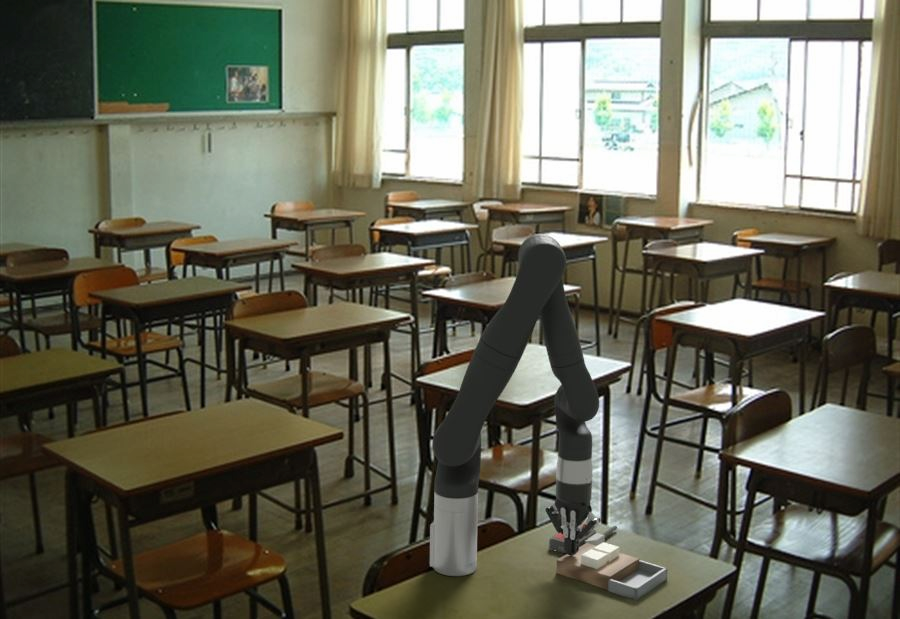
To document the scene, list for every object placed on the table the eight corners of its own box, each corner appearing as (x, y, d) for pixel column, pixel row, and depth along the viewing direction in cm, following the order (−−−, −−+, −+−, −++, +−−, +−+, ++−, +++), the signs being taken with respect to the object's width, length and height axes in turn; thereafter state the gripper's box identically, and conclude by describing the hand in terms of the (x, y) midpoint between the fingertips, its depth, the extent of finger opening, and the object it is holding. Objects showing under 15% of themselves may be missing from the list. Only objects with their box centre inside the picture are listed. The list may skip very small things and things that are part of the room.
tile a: (580, 563, 238) (581, 554, 238) (590, 558, 241) (591, 549, 241) (597, 569, 236) (597, 560, 236) (607, 563, 239) (607, 554, 239)
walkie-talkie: (579, 561, 248) (620, 533, 264) (579, 542, 247) (620, 515, 263) (544, 552, 253) (586, 525, 269) (544, 533, 252) (587, 507, 268)
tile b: (593, 556, 242) (593, 547, 242) (603, 550, 245) (603, 542, 245) (609, 561, 240) (609, 552, 239) (619, 555, 243) (619, 547, 242)
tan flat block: (556, 573, 241) (556, 559, 240) (586, 555, 250) (586, 542, 249) (609, 590, 233) (610, 576, 232) (638, 571, 242) (639, 558, 242)
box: (608, 591, 232) (608, 579, 232) (639, 571, 242) (640, 560, 242) (636, 600, 229) (636, 588, 228) (666, 579, 238) (667, 568, 238)
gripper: (538, 474, 240) (535, 551, 243) (591, 488, 232) (588, 567, 235) (557, 465, 246) (555, 541, 249) (610, 478, 238) (607, 556, 241)
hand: (571, 553), depth 242 cm, fingers closed
